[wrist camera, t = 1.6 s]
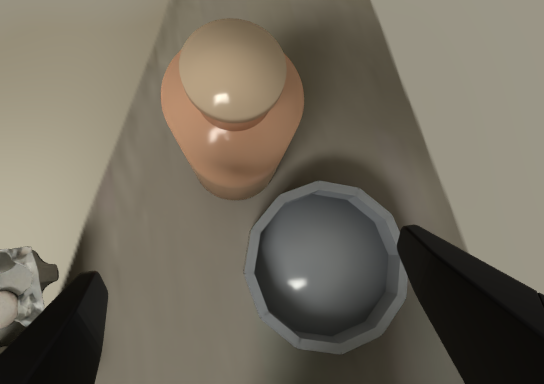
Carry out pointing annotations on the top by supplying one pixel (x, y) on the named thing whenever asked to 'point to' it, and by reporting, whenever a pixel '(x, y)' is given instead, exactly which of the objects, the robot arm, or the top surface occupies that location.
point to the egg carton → (21, 290)
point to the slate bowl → (326, 267)
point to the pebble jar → (232, 106)
